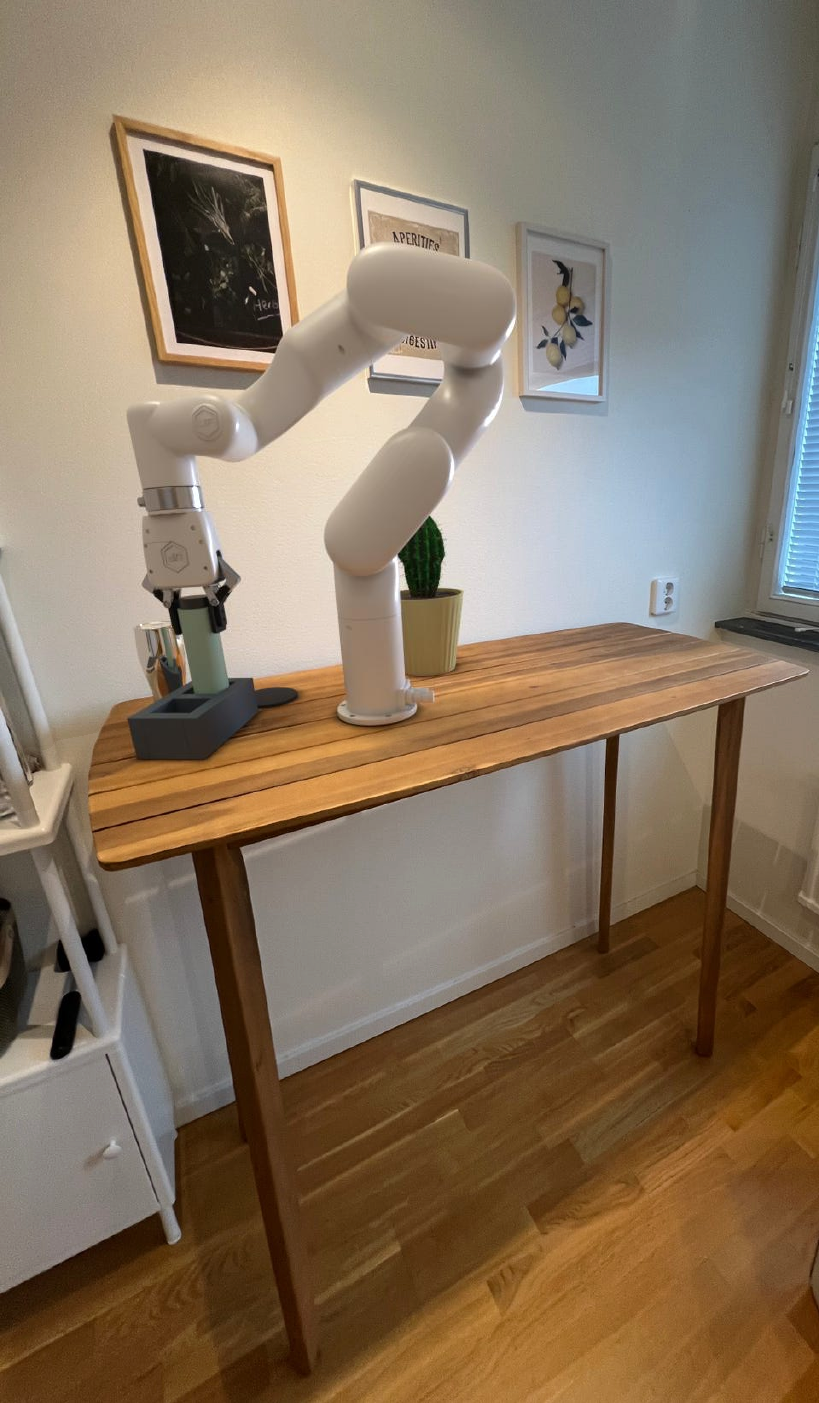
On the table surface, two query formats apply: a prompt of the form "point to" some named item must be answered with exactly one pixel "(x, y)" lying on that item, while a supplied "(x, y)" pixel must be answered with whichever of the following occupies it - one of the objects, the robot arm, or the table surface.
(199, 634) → the bottle
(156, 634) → the chrome tumbler
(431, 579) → the potted cactus
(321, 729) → the table surface
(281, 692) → the coaster
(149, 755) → the holder
